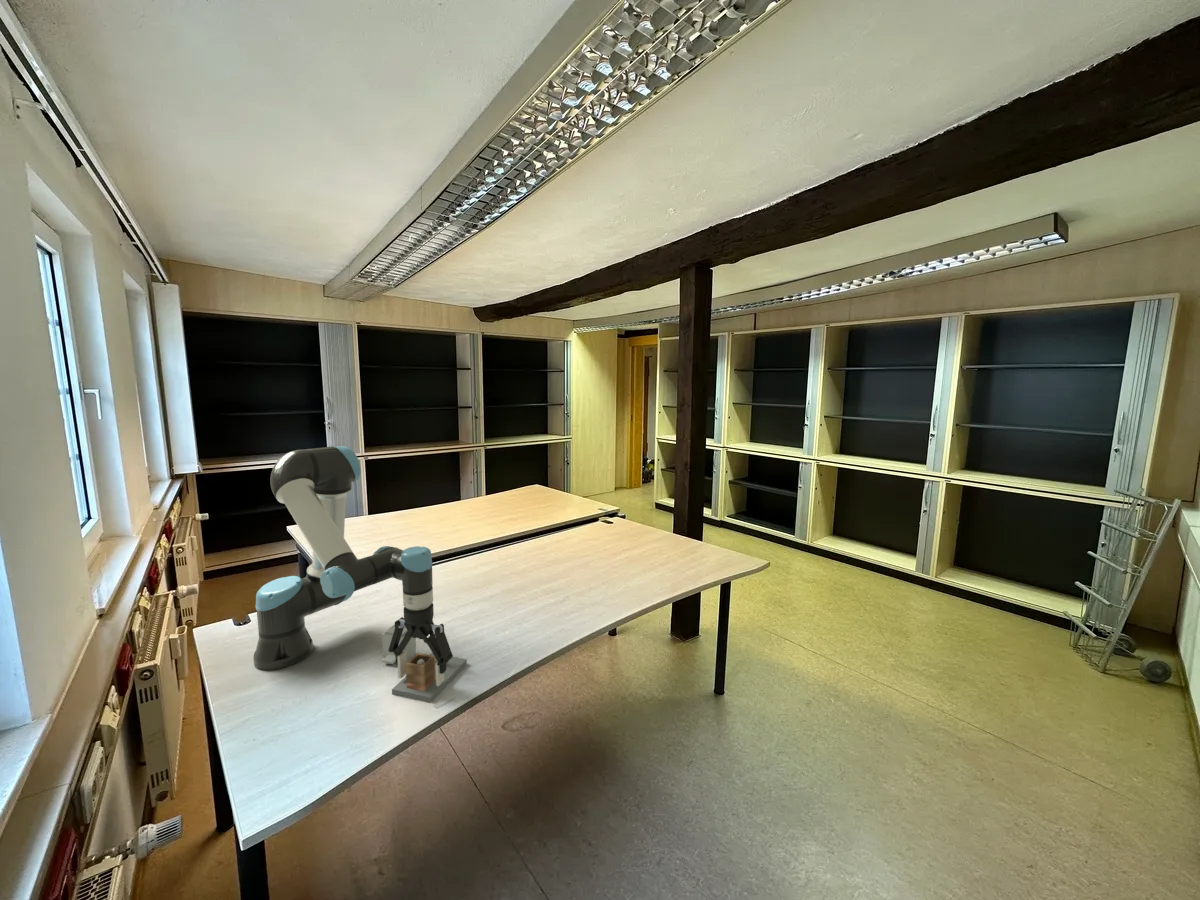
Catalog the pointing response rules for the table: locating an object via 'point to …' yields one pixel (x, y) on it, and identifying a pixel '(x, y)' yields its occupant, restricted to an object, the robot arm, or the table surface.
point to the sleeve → (420, 672)
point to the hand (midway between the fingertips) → (421, 679)
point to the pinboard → (432, 691)
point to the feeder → (410, 647)
